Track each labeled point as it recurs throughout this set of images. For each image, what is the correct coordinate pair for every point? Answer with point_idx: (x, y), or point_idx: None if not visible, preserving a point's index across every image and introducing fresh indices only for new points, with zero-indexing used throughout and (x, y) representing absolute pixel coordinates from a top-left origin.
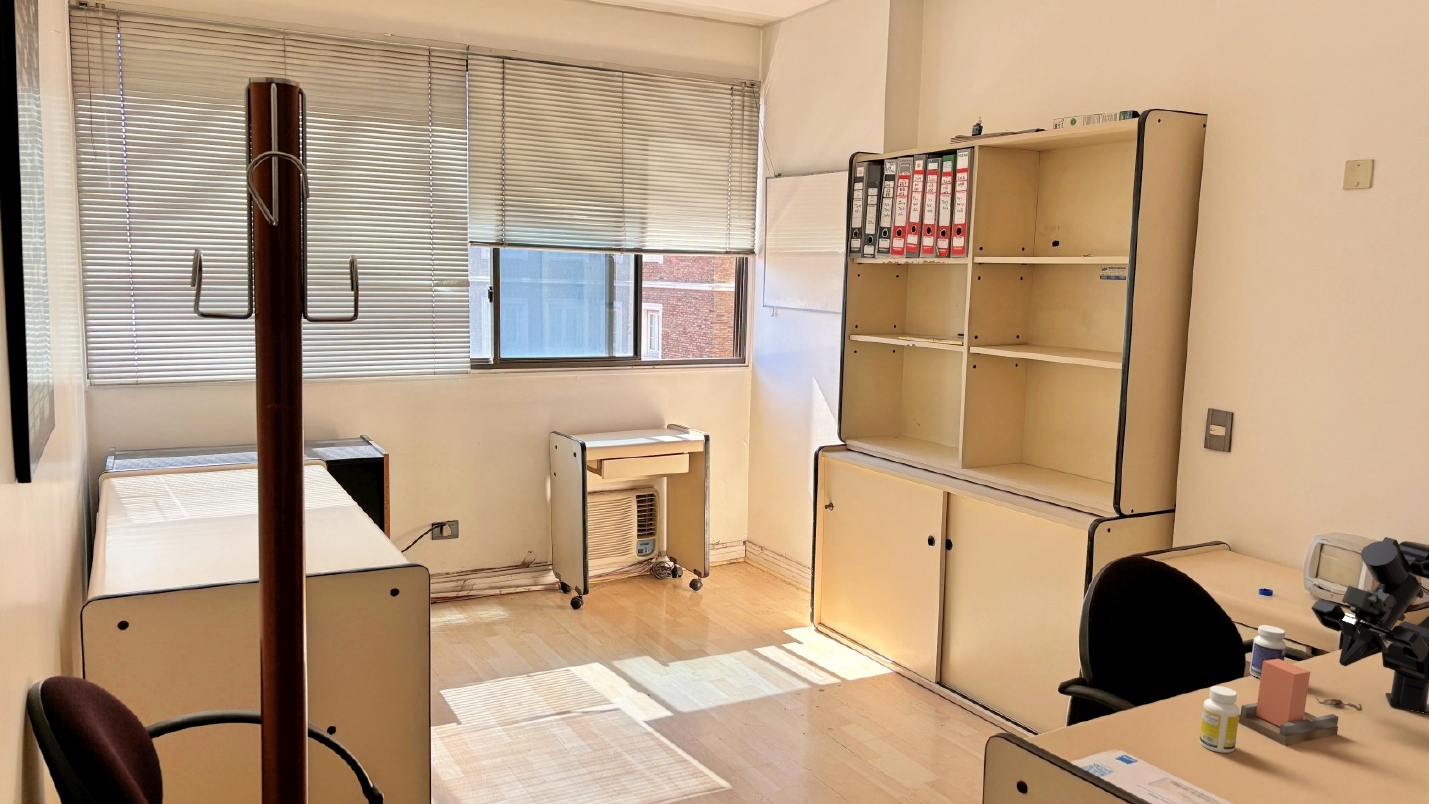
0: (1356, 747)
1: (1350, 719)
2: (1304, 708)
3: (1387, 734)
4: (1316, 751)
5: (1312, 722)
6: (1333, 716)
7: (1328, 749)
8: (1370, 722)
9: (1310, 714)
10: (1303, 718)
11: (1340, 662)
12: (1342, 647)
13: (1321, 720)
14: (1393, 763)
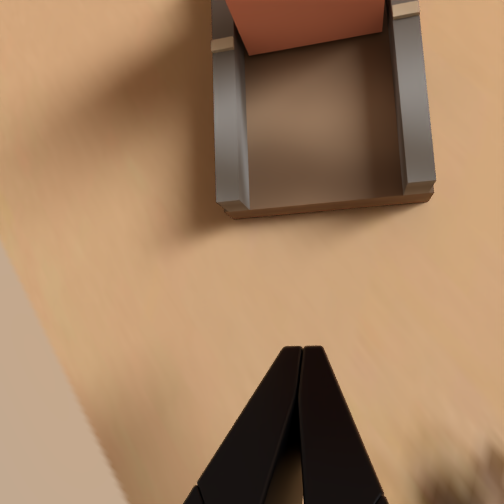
0: (153, 202)
1: None
2: (227, 3)
3: (186, 424)
4: (172, 47)
5: (214, 55)
6: (221, 179)
7: (170, 96)
8: None
9: (336, 198)
10: (240, 35)
11: (311, 346)
12: (363, 455)
13: (214, 102)
14: (54, 221)
